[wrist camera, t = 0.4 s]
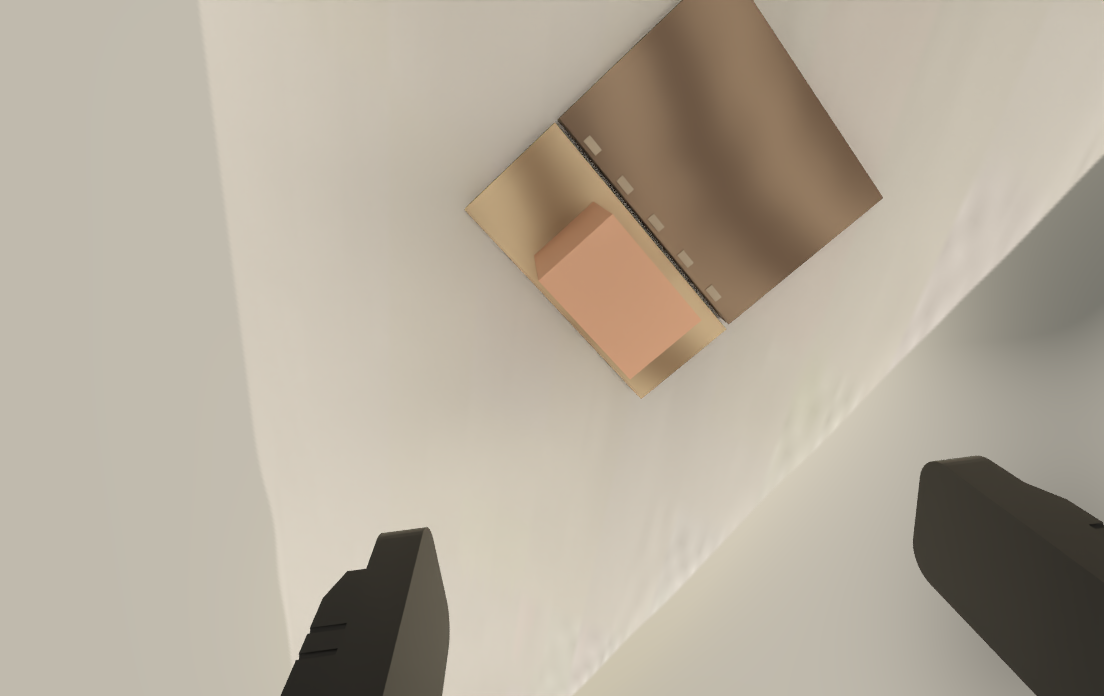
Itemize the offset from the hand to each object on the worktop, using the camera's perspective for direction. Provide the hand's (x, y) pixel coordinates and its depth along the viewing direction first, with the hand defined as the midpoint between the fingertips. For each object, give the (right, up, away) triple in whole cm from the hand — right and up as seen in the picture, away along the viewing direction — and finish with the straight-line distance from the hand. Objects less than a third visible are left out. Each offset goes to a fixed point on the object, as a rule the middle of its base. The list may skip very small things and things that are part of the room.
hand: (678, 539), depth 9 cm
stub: (0, +7, +22) cm, 23 cm away
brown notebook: (+7, +13, +20) cm, 25 cm away
